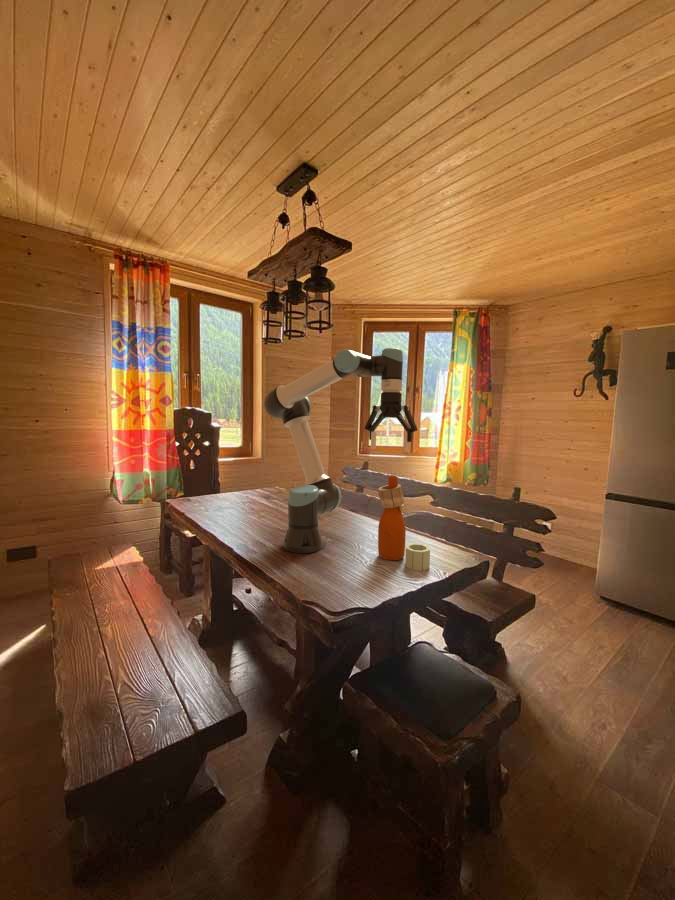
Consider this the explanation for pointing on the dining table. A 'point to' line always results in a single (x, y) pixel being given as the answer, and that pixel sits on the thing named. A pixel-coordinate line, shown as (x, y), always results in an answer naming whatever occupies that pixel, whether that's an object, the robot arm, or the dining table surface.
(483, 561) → the dining table surface
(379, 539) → the wine bottle
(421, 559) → the sage ring
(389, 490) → the birch ring
